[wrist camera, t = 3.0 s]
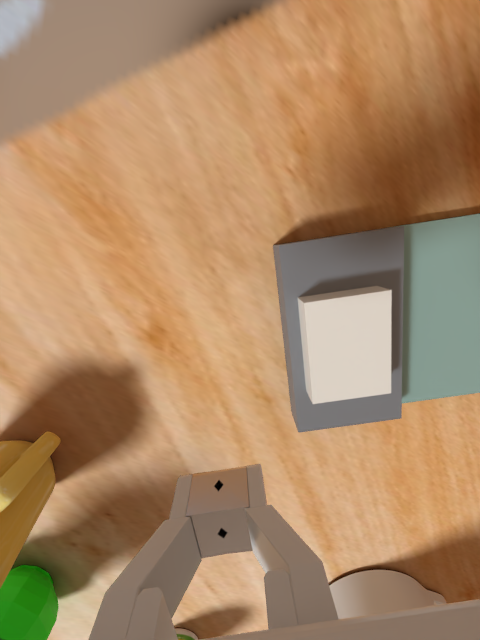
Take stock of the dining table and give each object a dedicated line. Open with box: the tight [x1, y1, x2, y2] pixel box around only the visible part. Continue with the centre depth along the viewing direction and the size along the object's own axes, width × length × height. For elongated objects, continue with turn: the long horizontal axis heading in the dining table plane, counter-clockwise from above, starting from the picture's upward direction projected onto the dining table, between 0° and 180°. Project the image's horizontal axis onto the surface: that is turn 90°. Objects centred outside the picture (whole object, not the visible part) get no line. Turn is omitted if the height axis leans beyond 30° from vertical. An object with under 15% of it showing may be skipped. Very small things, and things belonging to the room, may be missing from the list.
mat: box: [388, 214, 480, 403], centre depth 24 cm, size 16×10×1 cm, turn 8°
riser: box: [273, 226, 404, 432], centre depth 23 cm, size 16×9×3 cm, turn 8°
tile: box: [298, 286, 392, 404], centre depth 21 cm, size 8×6×2 cm
